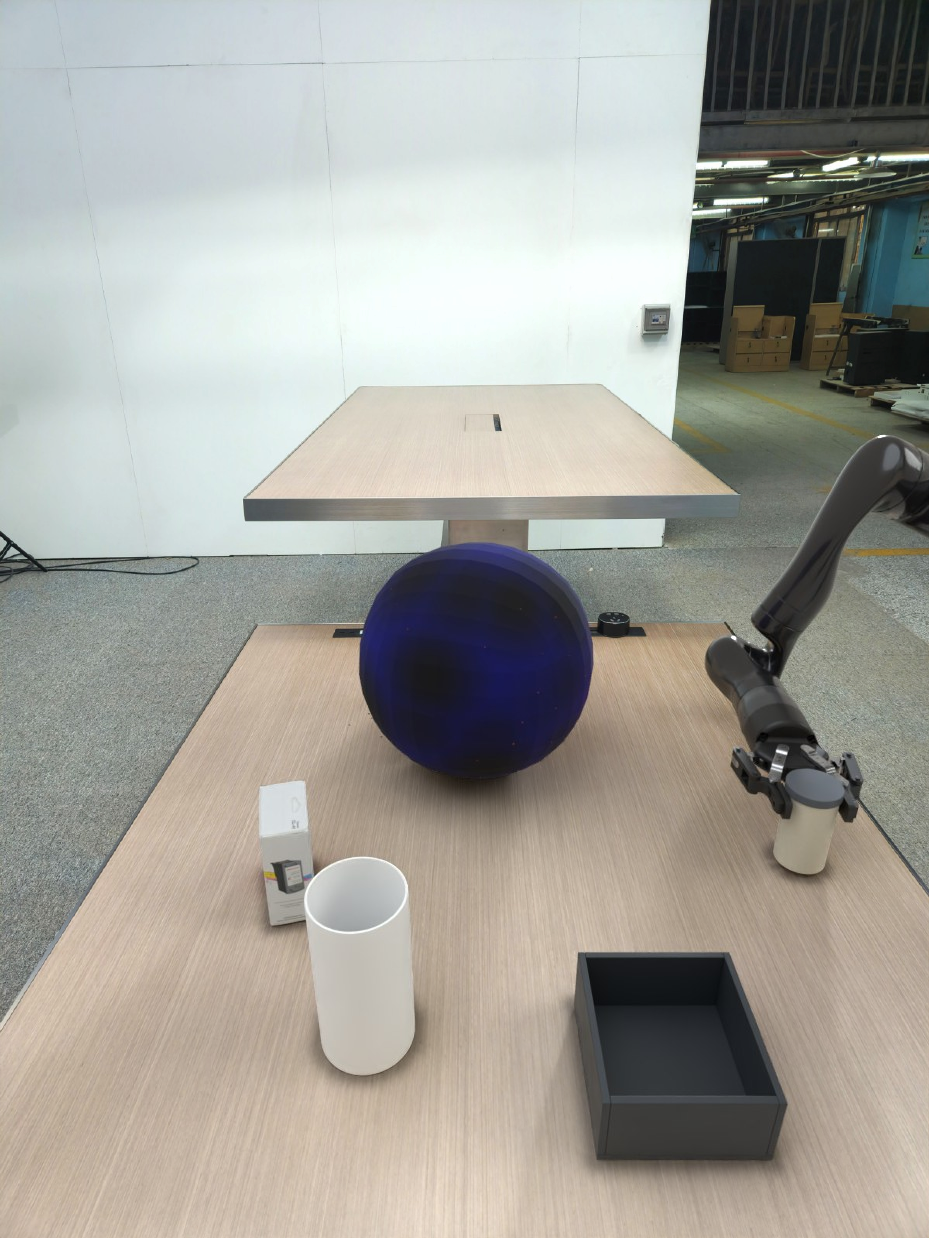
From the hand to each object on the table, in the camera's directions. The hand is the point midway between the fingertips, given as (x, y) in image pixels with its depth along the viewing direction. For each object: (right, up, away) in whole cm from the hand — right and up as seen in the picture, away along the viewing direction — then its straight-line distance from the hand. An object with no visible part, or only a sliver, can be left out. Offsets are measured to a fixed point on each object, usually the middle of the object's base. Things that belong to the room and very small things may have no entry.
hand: (819, 814), depth 79 cm
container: (0, -6, +6) cm, 8 cm away
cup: (-46, -16, -13) cm, 50 cm away
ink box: (-56, -9, +2) cm, 57 cm away
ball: (-38, +2, +26) cm, 46 cm away
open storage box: (-21, -17, -17) cm, 32 cm away
